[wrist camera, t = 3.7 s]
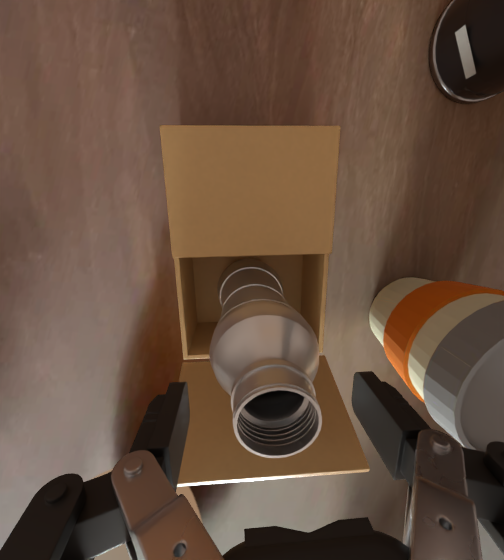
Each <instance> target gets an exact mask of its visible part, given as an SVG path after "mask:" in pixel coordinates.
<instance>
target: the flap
mask: <svg viewBox="0 0 504 560" xmlns="http://www.w3.org/2000/svg"><path fill="white" fill-rule="evenodd" d="M179 382H187V385H188V396H189V406H190V421H189V427H188V432H187V437H186V443H185V448H184V453H183V458H182V463H181V468H180V473H179V478H178V484H177V487H180V486H193V485H205V484H218V483H230V482H243V481H256V480H268V479H281V478H294V477H306V476H319V475H332V474H344V473H357V472H368V471H369V470H370V468H369V465H368V463H367V460H366V458H365V455H364V453H363V450H362V448H361V445H360V443H359V440H358V438H357V435H356V433H355V430H354V428H353V425H352V423H351V420H350V418H349V415H348V413H347V410H346V408H345V405H344V403H343V400H342V398H341V395H340V393H339V390H338V388H337V385H336V383H335V380H334V378H333V375H332V373H331V370H330V368H329V365H328V363H327V360H326V358H325V356H324V355H323V356H319V366H318V371H317V374H316V376H315V378H314V380H313V382H312V383H313V386H314V389H315V393H316V399H317V401H318V404H319V406H320V410H321V415H322V425H321V430H320V432H319V434H318V436H317V438H316V439H315V440H314V442H313V443H312V444H311V445H310V446H309V447H308V448H306V449H304V450H303V451H301V452H299V453H297V454H295V455H292V456H288V457H283V458H267V457H262V456H259V455H256V454H253V453H252V452H250V451H248V450H247V449H245V448H244V447H243V446H242V445H241V444H240V442H239V441H238V440H237V437H236V435H235V433H234V428H233V411H232V407H231V396H230V395H229V394H228V393H227V392H226V391H225V390H224V389H223V388H222V387H221V385H220V384H219V382H218V381H217V379H216V376H215V374H214V371H213V369H212V366H211V363H210V361H205V362H185V363H182V368H181V374H180V379H179Z"/></svg>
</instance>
